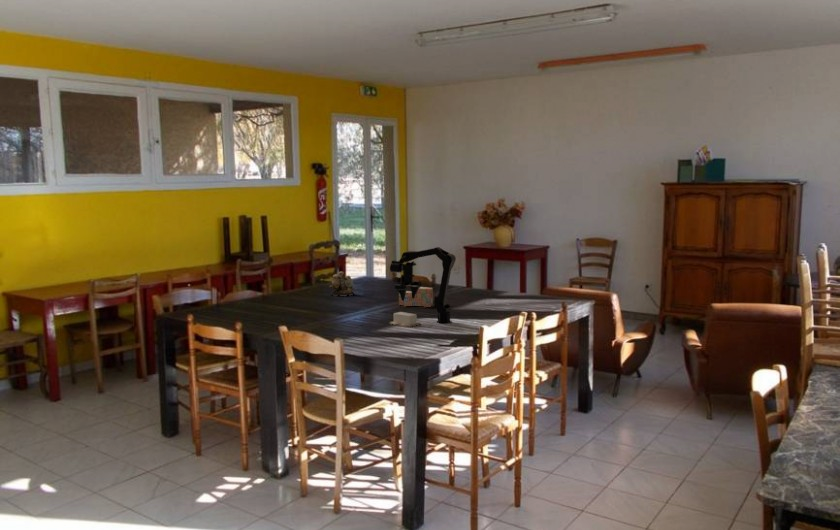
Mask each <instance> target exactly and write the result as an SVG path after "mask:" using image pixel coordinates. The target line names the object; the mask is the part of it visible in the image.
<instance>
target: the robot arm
mask: <svg viewBox="0 0 840 530" xmlns="http://www.w3.org/2000/svg"><path fill="white" fill-rule="evenodd" d="M434 255H435V256H436V257H437V258H438V259H439V260H441V261H442V263H441V264H442V274H441V275H442V276H441V280H440V284H439V285H440V286H439V291H438V294H436V295H435V296H434V297H433V306H434V307H435V309H436V310H437V321H436V323H438V322H439V324H444V323H446V324H449V322H450V323H452V320H451V312H450V311H451V310H452V306H451V305H450V304H449V303H448V302H449V301H448V290H449V289H448V288H449V283H450V278H451V274H452V273H451V272H452V269H453V268H454V266H455V263H456V260H457V258H456V256H455V255H454V254H453V253H450V252H448V251H446V250H444V249H443V248H441V247H439V246H437V247H434V248H428V249H423V250H418V251H417V250H408V251H404V252H403V253H401V257H400V259H399V260H391V263H390V266H389V271H390V272H391V273H400V274H401V273H402V274H401V276H400V277H397V276H395V277H393V283H394V285H393V287H394V288H393V289H394V290H395V291H397V292H398V294H399V293H400V296H401V299H402V301H404V299H405V294H406V291H407V287H409V288H410V291H411V293H412V299H414V297H415V295H416V293H417V291H418V289H419V288H420V287H422V282H421V280H414V277H415V274H414V267H415V266H417V263H416V262H415V261H414V260H416V259H419V258H424V257H428V256H434Z"/></svg>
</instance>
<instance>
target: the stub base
mask: <svg viewBox="0 0 840 530" xmlns="http://www.w3.org/2000/svg"><path fill="white" fill-rule="evenodd" d="M388 323H389V325H392V324H393V325H392V326H397V325H398V327H403V326H404V328H409V327H410V328H413V327H412V326H414V327H417V326H416V325H418V326H420V324H421V325H422V323H421V322H418V321H417V323H415V324H411V325H408V324H402V323H396V322H394V320H393V321H390V322H388Z"/></svg>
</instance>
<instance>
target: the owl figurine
mask: <svg viewBox="0 0 840 530" xmlns="http://www.w3.org/2000/svg"><path fill="white" fill-rule="evenodd" d="M345 275H346V274H345V272H344V271H338V273H335V274H333V275H332V281H331V285H329V288H330V289H331V290H333V292H331V294H332V295H339V296H340V295H350V294H354V293H355V292H354V290H355V289H356V288H355V287H354V284H355V283H354V279H352V277H351V275H346V276H345Z"/></svg>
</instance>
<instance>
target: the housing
mask: <svg viewBox="0 0 840 530" xmlns="http://www.w3.org/2000/svg"><path fill="white" fill-rule="evenodd" d="M417 319H418V318H417V314H416V313H410V312H405V311H398V312H394V313H393V321H394V322H396V323H402V324H408V325H411V324H415V323H417V322H418V321H417Z"/></svg>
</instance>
